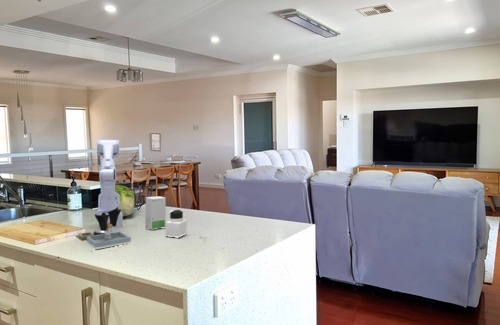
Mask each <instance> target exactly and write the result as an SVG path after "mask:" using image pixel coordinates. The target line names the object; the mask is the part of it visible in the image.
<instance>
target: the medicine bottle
mask: <svg viewBox="0 0 500 325" xmlns="http://www.w3.org/2000/svg"><path fill="white" fill-rule="evenodd" d="M183 214H184V211H182V210H181V209H172V210H170V211H169V217H168V218H169V220H167V221H165V236H166V235H170V236H180V235H182V234H184V233H186V234H187V219H184V218H183V217H184V215H183Z"/></svg>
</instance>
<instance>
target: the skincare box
mask: <svg viewBox="0 0 500 325" xmlns="http://www.w3.org/2000/svg"><path fill="white" fill-rule="evenodd" d="M166 201H167V199H166V197H164V196H160V195H159V196H146V197H145V221H144V222H145V225H144V226H145V227H146V228H145V229H147V228H149V229H155V228H161V227H165V228H166V219H167V218H166ZM149 229H148V230H149Z"/></svg>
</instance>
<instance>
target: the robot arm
mask: <svg viewBox="0 0 500 325" xmlns="http://www.w3.org/2000/svg"><path fill="white" fill-rule="evenodd" d="M96 151H97V155H98V157H100V158H102V159H101V161H100V170H99V174H98V175H99V185H100V193H99V194H98V200H97V201H98V203H97V204H98V205H97V207H98V209H97V210H96V213H95V214H94V217H95V219H96V221H97V223H98V226H99V229H101V231H106V229H107V223H112V226H111V229H115V228H121V227H124V226H123V225H124V224H123V222H124V221H123V219H124V217H123V215H122V212H121V210H120V198H119V194H118V193H116V192H115V185H116V181H117V170H116V163H115V158H117V157H119V155H120V140H119V139H97V140H96ZM115 197H116V198H115Z"/></svg>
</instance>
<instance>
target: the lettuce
mask: <svg viewBox="0 0 500 325" xmlns="http://www.w3.org/2000/svg"><path fill="white" fill-rule="evenodd" d="M115 192H116V193H118V194H119V198H120V210H121V212H122V215H123V218H124V217H126V216H129V215H131V214H132V213H133V212H134V210H135V204H136V201H135V200H136V199H135V195H134V192H133V191H132V190H131V189H130V188H128V186H124V185H121V184H115ZM115 198H116V197H115Z"/></svg>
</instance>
